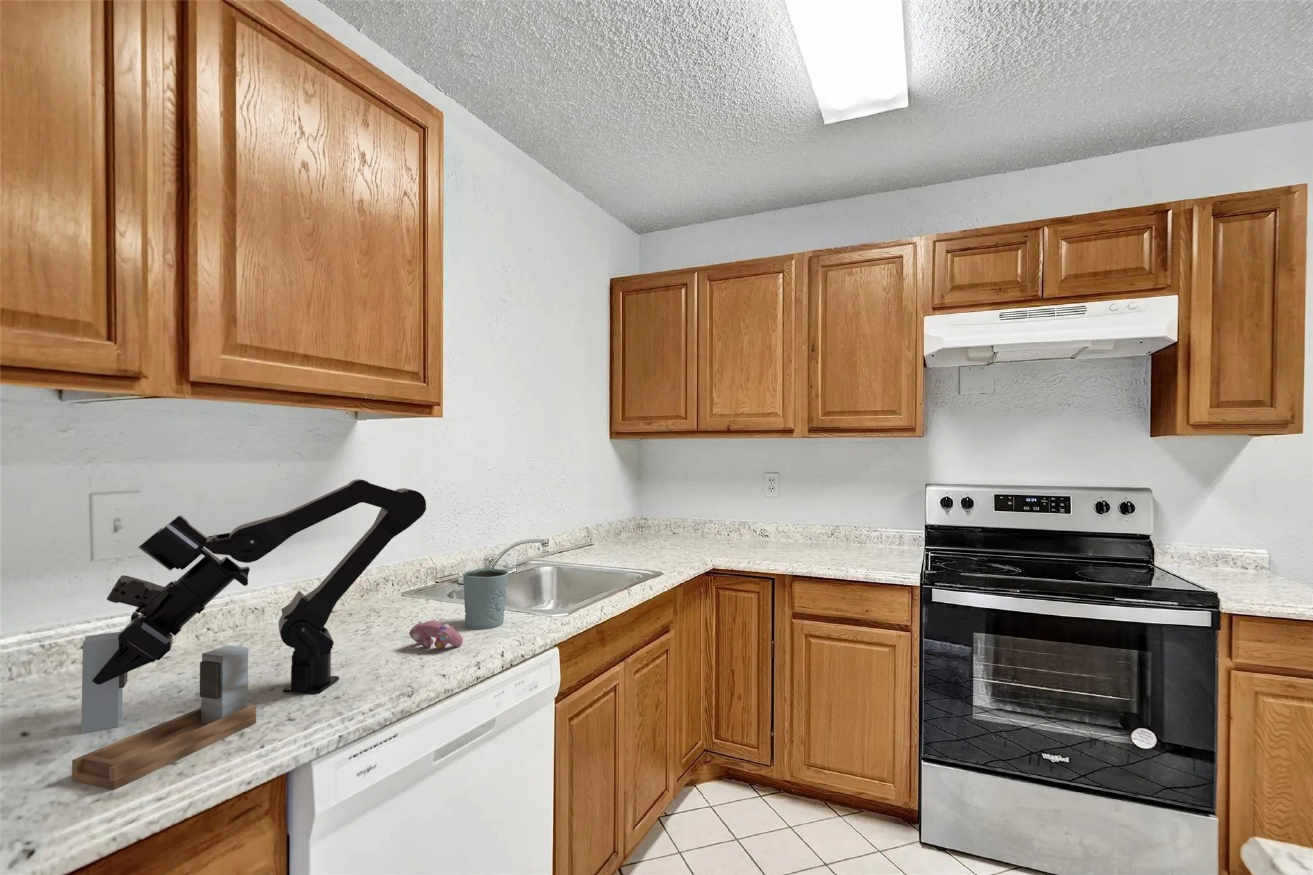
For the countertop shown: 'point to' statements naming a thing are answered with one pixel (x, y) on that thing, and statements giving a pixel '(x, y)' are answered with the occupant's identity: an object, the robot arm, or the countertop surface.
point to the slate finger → (107, 697)
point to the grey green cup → (485, 598)
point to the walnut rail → (178, 726)
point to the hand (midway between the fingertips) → (101, 673)
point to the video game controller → (435, 634)
